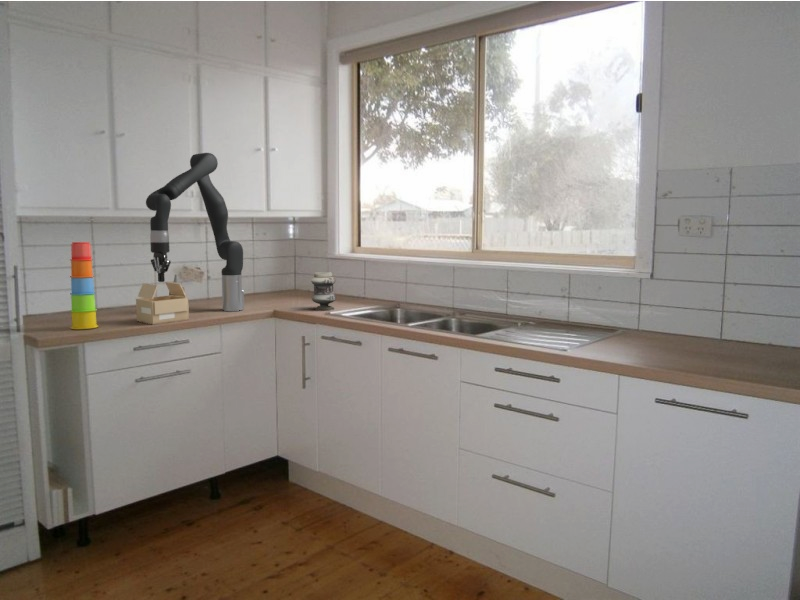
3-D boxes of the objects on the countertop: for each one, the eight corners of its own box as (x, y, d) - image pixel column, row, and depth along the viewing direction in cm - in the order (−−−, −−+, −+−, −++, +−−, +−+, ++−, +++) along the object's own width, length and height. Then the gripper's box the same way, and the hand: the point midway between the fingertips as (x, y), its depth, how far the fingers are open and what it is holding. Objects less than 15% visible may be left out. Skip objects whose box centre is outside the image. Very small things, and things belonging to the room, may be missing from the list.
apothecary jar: (316, 307, 320) (316, 271, 318) (339, 307, 318) (339, 271, 316) (308, 310, 309) (307, 273, 306) (332, 311, 306) (331, 273, 304)
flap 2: (171, 293, 285) (165, 281, 283) (186, 295, 277) (180, 283, 275) (170, 293, 285) (164, 282, 282) (185, 296, 277) (179, 284, 275)
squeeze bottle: (181, 314, 295) (179, 275, 293) (165, 313, 297) (163, 275, 294) (190, 311, 303) (188, 274, 301) (174, 311, 305) (173, 273, 302)
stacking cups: (64, 328, 256) (59, 242, 252) (88, 325, 265) (83, 241, 261) (80, 331, 251) (74, 242, 247) (104, 327, 260) (99, 242, 255)
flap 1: (138, 296, 274) (143, 283, 275) (152, 299, 266) (158, 285, 267) (137, 296, 273) (142, 283, 275) (151, 298, 266) (157, 285, 267)
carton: (171, 316, 288) (170, 295, 287) (189, 320, 278) (188, 297, 277) (136, 321, 275) (135, 298, 274) (153, 325, 266) (152, 301, 265)
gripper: (176, 241, 271) (177, 282, 273) (160, 240, 280) (161, 280, 282) (159, 241, 265) (161, 283, 268) (143, 241, 274) (145, 281, 276)
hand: (161, 281), depth 275 cm, fingers closed
